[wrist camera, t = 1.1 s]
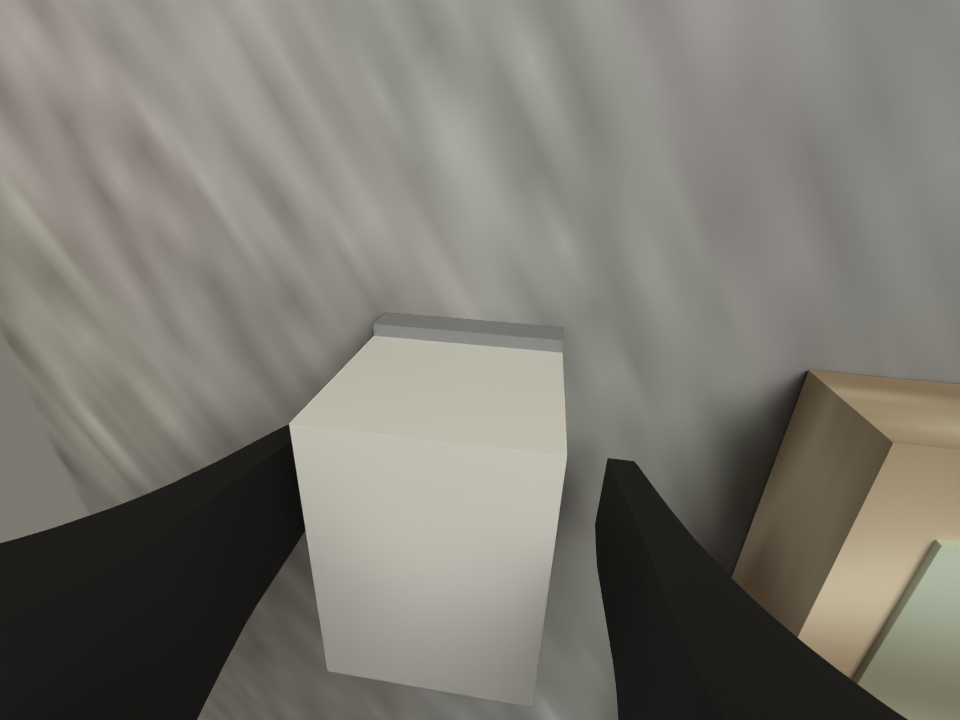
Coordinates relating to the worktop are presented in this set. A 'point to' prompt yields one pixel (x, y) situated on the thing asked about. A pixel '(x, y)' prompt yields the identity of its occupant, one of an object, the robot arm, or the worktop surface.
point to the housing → (436, 503)
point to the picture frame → (867, 536)
